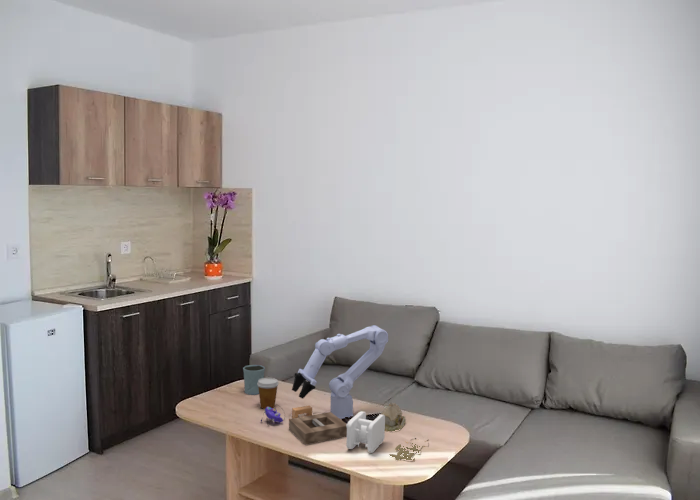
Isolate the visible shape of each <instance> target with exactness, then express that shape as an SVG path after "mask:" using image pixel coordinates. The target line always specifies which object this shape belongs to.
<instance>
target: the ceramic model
mask: <svg viewBox="0 0 700 500" xmlns="http://www.w3.org/2000/svg"><path fill="white" fill-rule="evenodd" d="M380 414H382V415H385V430H387V431H386V432H388V431H395V430H399V429H401V430H402V429H403V427H404V426H405V424H406V416H404V415H403V412H402V410H401V408H400V406H399V405H398V404H396V402H389V403H388V406H387V407H386V409H384V410H383V411H382V412H381V413H380ZM403 425H404V426H403ZM399 431H400V430H399ZM395 432H396V431H395Z"/></svg>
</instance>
